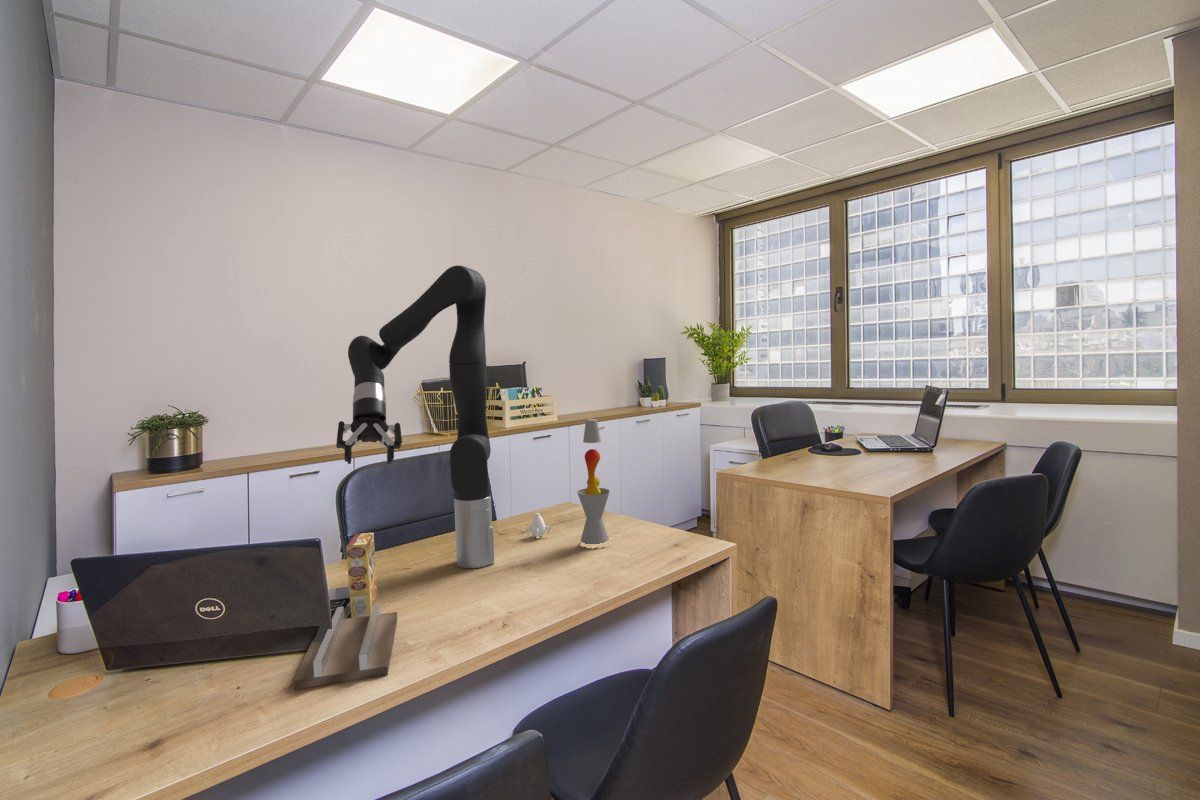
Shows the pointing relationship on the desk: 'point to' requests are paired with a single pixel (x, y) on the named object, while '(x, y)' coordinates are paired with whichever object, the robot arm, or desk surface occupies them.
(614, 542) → the desk surface
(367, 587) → the candy box
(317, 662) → the track base
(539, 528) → the rocket toy
